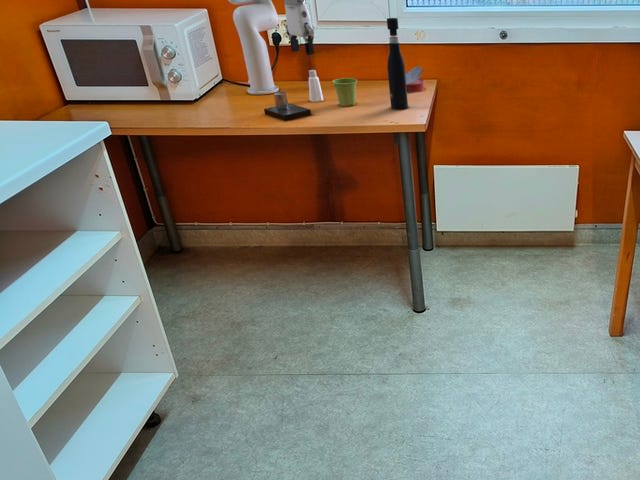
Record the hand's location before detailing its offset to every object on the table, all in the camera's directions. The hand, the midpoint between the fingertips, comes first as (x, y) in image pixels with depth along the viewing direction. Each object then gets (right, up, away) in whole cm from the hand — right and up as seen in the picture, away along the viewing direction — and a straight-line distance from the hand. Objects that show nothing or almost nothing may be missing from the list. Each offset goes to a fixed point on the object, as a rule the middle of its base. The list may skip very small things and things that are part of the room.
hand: (303, 52), depth 239 cm
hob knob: (-7, -22, -3) cm, 23 cm away
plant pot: (+15, -17, +7) cm, 24 cm away
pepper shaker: (+2, -13, +13) cm, 18 cm away
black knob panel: (-4, -25, -4) cm, 26 cm away
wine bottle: (+36, -20, +2) cm, 41 cm away
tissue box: (+38, -3, +26) cm, 46 cm away
